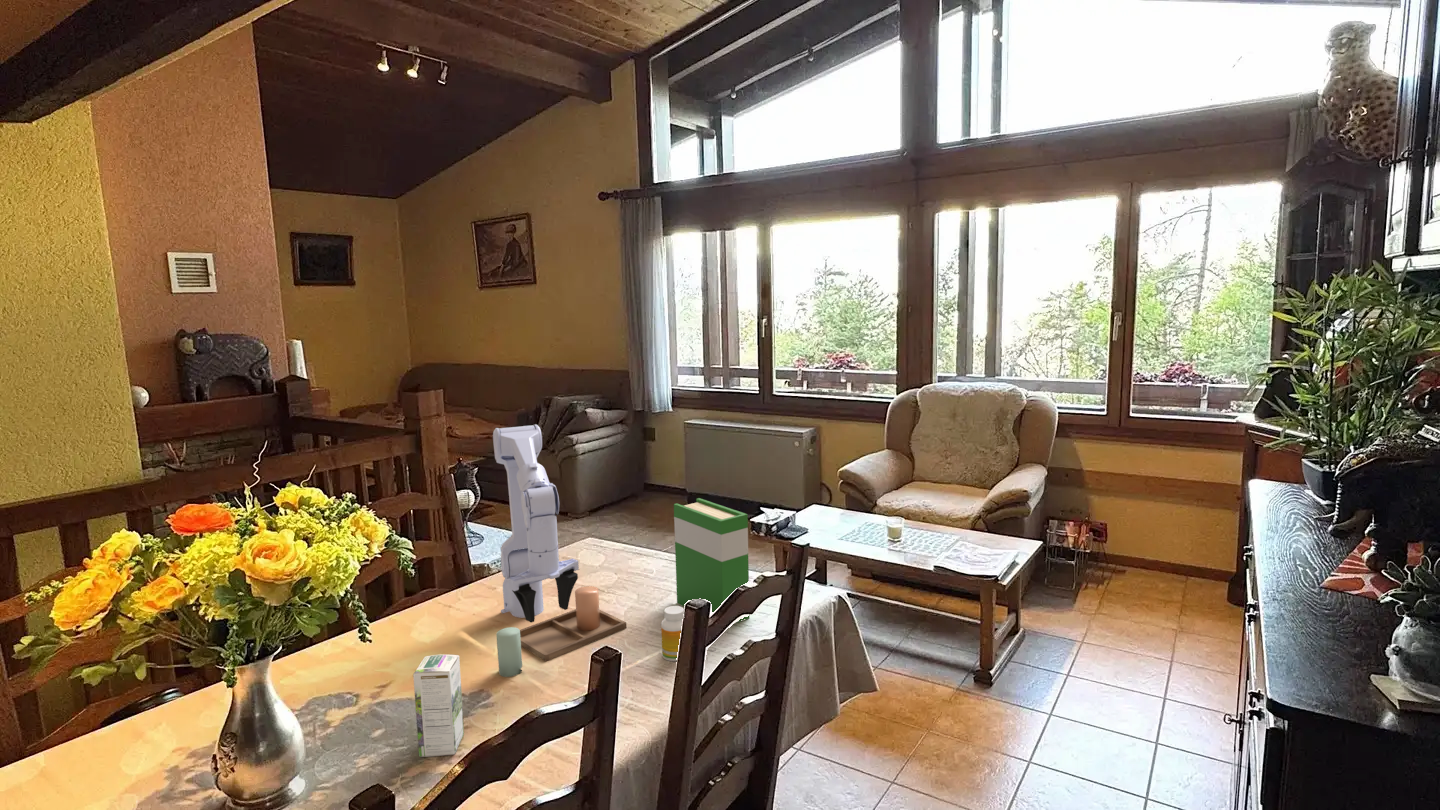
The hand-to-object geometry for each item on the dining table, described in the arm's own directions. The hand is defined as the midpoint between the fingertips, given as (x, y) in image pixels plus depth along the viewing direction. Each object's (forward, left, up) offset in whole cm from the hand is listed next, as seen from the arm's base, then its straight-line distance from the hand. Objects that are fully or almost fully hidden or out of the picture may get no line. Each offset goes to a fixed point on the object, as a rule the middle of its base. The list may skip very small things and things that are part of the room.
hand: (547, 614), depth 145 cm
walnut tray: (-7, +9, -10) cm, 15 cm away
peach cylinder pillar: (-7, +14, -10) cm, 18 cm away
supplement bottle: (+16, +19, -10) cm, 27 cm away
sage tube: (-3, -7, -10) cm, 13 cm away
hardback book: (+6, +39, -10) cm, 41 cm away
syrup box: (+11, -27, -10) cm, 31 cm away
